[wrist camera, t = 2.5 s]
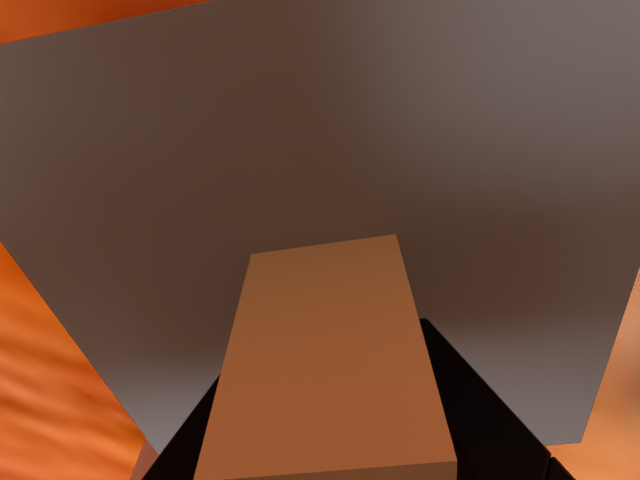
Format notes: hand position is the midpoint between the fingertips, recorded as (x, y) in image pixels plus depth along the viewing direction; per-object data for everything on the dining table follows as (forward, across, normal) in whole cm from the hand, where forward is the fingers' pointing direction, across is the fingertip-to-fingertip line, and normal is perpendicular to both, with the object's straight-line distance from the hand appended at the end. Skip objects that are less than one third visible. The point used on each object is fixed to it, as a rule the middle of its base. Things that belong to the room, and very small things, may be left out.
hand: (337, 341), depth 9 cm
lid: (+2, 0, 0) cm, 2 cm away
